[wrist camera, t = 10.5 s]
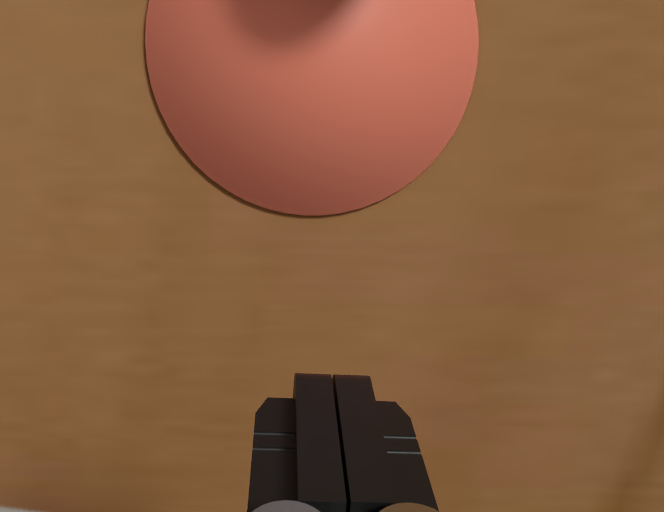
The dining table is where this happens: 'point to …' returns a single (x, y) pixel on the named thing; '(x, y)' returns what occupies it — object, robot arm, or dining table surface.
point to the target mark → (312, 93)
